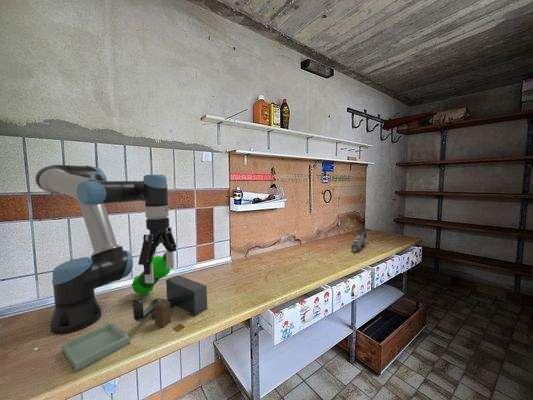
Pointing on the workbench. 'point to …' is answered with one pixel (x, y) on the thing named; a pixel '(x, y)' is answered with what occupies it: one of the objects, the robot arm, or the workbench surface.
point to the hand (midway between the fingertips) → (160, 275)
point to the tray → (94, 346)
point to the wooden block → (162, 313)
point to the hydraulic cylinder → (359, 241)
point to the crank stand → (185, 296)
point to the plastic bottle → (158, 271)
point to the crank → (138, 309)
